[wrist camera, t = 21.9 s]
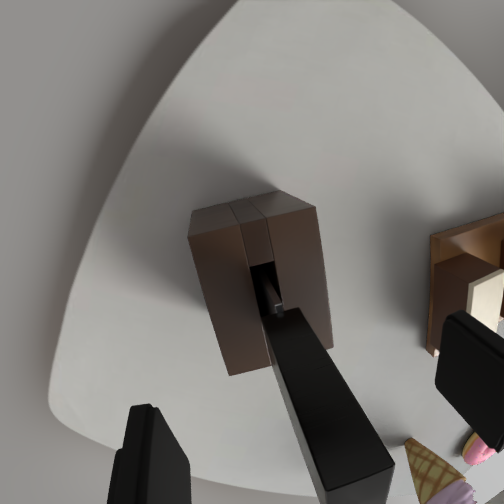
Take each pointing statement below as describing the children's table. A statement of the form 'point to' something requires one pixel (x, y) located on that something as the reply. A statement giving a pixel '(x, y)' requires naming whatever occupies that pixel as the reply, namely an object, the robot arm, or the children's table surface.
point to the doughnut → (476, 450)
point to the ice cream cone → (436, 477)
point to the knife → (322, 408)
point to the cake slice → (466, 292)
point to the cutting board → (461, 241)
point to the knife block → (273, 262)
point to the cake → (503, 266)
